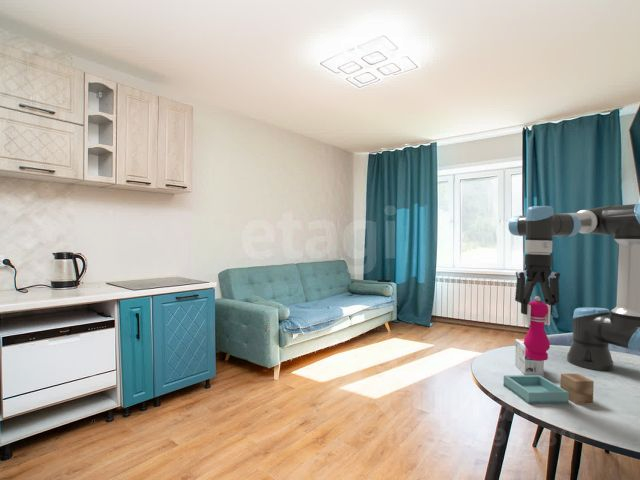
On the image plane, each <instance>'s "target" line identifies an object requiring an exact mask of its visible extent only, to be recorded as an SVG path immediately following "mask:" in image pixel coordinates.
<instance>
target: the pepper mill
mask: <svg viewBox="0 0 640 480" xmlns="http://www.w3.org/2000/svg"><path fill="white" fill-rule="evenodd" d="M533 299H534V300H532V301H529V303H528V304H529V305H531V317H530V325H529V328H528V331H527V332H526V334H525V336H524V338H523V340H524V345H525V347H526V348H527V349H526V350H525V356H526V357H528V358H531V359H534V360H541V361H542V360H544V361H547V360H548V359H549V357H548V356H549V353H548V352H547V351H549V350H550V347H551V346H550V345H551V343H550V339H549V338H548V336H547V333H546V330H545V324H544V323H545V322H546V317H545V315H546V314H547V313H548V307H547V305H546V303H545V302H543V301H541V300H542V299H541V297H540V296H538V295H536V296H535V297H534V298H533Z"/></svg>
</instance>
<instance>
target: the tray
mask: <svg viewBox="0 0 640 480" xmlns="http://www.w3.org/2000/svg"><path fill="white" fill-rule="evenodd" d="M502 385H503V387H505V388H506V389H508V390H509V391H511V392H512V393H513V394H514V395H515V396H517V397H519V398H520V399H521V400H523V401H524V402H525V403H527V404H528V405H535V404H536V405H543V404H544V405H545V404H546V405H552V404H553V405H554V404H556V405H558V404H565V405H566V404H569V403H570V402H569V401H570V400H569V392H567V391H566V390H564V389H562V388H561V387H560V386H559V385H557V384H556V383H554V382H553V381H550V380H548V379H547V378H545V377H544V376H543V377H542V376H540V375H524V374H523V375H520V374H519V375H518V374H517V375H516V374H515V375H514V374H513V375H508V374H507V375H503V384H502Z"/></svg>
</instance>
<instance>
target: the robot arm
mask: <svg viewBox="0 0 640 480" xmlns="http://www.w3.org/2000/svg"><path fill="white" fill-rule="evenodd" d="M507 228H508V232H510V234H512V235H513V236H516V237H517V236H519V237H525V242H524V252H525V255H524V265H525V268H524V269H523V270H522V271H516V272H515V277H516V285H515V294H514V296H515V298H514V301H516V302H518V303H520V313H521V315H522V324H524V325H526V326H530V317H531V305H529V304H528V303H529V302H530V300H531V297H532V295H533V291H534V288H535V286H536V285H537V283H538V284H539V286H540V289H541V292H542V296H543V301H544V303H545V304H546V305H547V307H548V313H547V314H546V315H545V317H546V322H545V323H544V326H545V325H546V326H550V325H551V315H552V314H553V307H554V306H556V304H558V303H559V302H560V293H559V280H560V276H561V273H560V272H554V271H552V268H551V267H552V266H553V265H552V264H553V255H552V253H553V240H554V239H553V237H563V238H564V237H573V236H575V235H577V234H578V233H580V234H582V235H583V234H584V235H585V234H590V235H591V234H593V235H601V236H603V235H604V236H614V238H613V240H614V241H615V242H616V243H617V244H618V263H617V265H618V266H617V286H616V287H617V288H616V306H615V307H614V308H613V309H611V310H610V309H608V308H606V307H605V308H604V307H577V308H575V309H574V310H573V316H572V342H571V345H570V348H569V350H568V352H567V354H566V360H567V361H568V362H569V363H571V364H572V365H575V366H578V367H581V368H584V369H585V368H586V369H590V370H596V371H612V370H613V369H614V368H615V366H614V361H613V358H612V355H611V351H610V349H609V345H614V346H617V347H620V348H623V349H624V348H625V349H627V350H630V351H635V352H640V203H635V204H634V203H633V204H632V203H631V204H621V205H619V204H618V205H607V206H606V205H605V206H600V207H595V208H587V209H581V210H579V211H577V212H568V213H555V212H554V208H553V206H550V205H537V206H536V205H535V206H534V205H533V206H528V208H526V215H516V216H512V217H511V218H510V219H509V221H508V227H507Z"/></svg>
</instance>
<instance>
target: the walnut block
mask: <svg viewBox="0 0 640 480" xmlns="http://www.w3.org/2000/svg"><path fill="white" fill-rule="evenodd" d="M594 384H595V381H594V380H592V379H591V378H588V377H586V376H584V375H582V374H580V373H560V384H559V385H560V386H559V387H561V388H562V389H564V390H566V391H567V392H569V401H570V402H571V403H573V404H578V405H579V404H583V405H585V404H594Z"/></svg>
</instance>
